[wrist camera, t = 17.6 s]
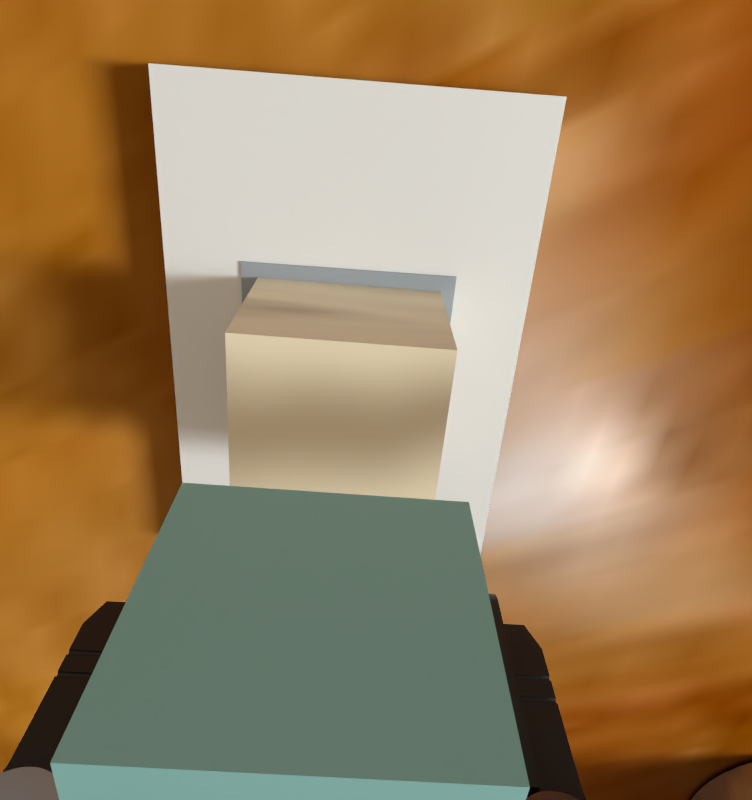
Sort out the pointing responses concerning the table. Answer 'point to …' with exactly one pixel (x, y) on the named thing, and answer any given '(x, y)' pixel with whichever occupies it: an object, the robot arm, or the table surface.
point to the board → (351, 228)
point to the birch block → (338, 388)
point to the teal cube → (300, 659)
